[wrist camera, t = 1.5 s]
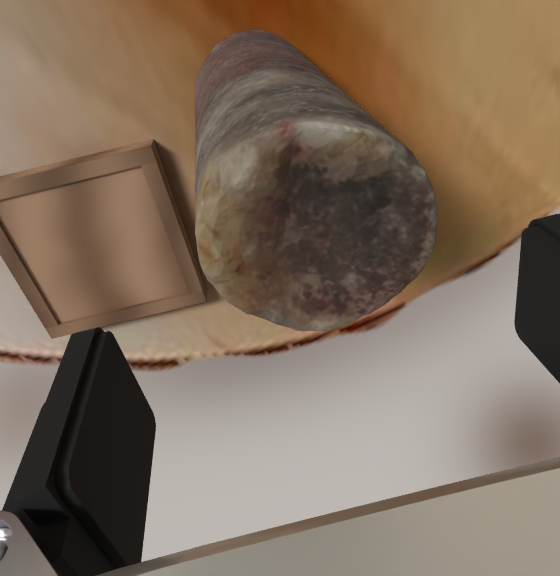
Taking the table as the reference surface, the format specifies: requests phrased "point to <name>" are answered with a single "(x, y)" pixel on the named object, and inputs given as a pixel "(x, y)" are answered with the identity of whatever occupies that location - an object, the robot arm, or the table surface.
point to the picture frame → (97, 240)
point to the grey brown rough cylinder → (301, 190)
